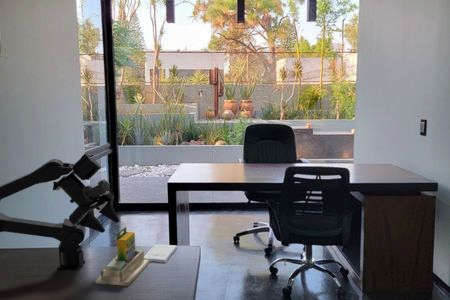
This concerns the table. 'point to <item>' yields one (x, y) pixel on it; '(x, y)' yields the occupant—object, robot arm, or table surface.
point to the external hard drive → (160, 253)
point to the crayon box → (125, 245)
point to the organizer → (123, 270)
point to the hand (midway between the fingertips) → (111, 226)
